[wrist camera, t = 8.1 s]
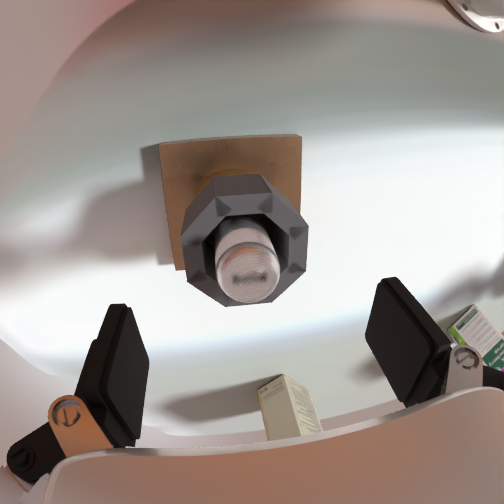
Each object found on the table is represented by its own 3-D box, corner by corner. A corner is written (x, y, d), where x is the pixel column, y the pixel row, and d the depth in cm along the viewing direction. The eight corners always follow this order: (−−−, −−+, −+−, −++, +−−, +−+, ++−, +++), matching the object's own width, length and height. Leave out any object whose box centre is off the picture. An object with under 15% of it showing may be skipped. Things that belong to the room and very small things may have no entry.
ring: (290, 171, 18) (310, 190, 14) (288, 264, 21) (303, 298, 17) (182, 179, 17) (175, 200, 14) (194, 272, 20) (191, 309, 17)
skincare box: (255, 389, 35) (271, 476, 24) (284, 372, 34) (308, 461, 23) (285, 405, 38) (304, 482, 27) (311, 390, 37) (337, 468, 26)
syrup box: (473, 302, 34) (532, 368, 21) (479, 319, 37) (530, 380, 24) (446, 329, 36) (499, 401, 23) (454, 343, 38) (501, 409, 25)
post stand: (296, 134, 22) (373, 169, 11) (293, 251, 26) (343, 351, 16) (162, 142, 21) (112, 185, 10) (177, 261, 25) (161, 371, 15)
